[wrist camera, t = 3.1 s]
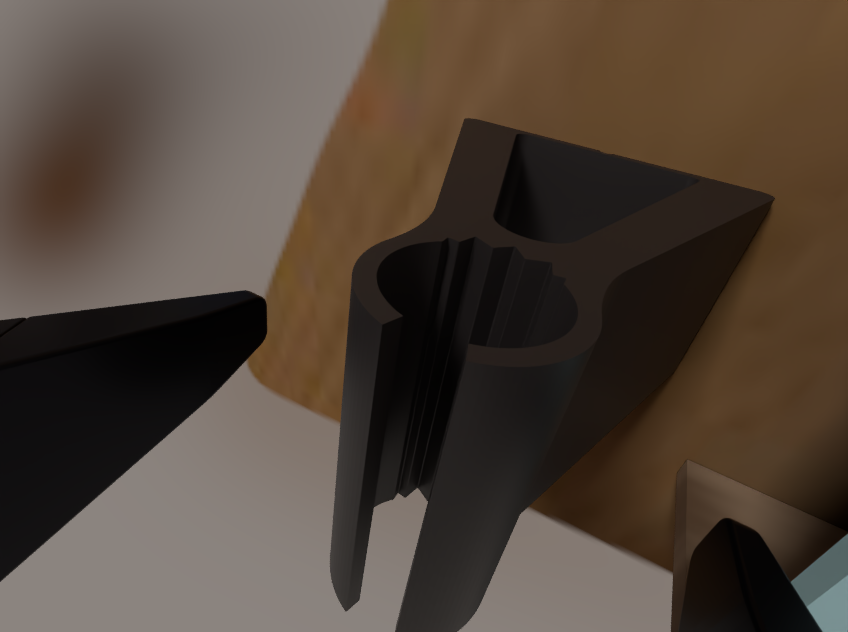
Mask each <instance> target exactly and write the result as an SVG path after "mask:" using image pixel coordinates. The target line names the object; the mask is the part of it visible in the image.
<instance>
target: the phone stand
mask: <svg viewBox="0 0 848 632" xmlns="http://www.w3.org/2000/svg"><path fill="white" fill-rule="evenodd" d="M774 199H775V198H774V197H773V196H771V195H769V194H766V193H763V192H760V191H756V190H752V189H748V188H744V187H740V186H736V185H732V184H728V183H724V182H720V181H717V180H713V179H709V178H705V177H701V176H697V175H693V174H689V173H685V172H681V171H677V170H673V169H669V168H666V167H662V166H658V165H654V164H650V163H646V162H642V161H638V160H634V159H630V158H626V157H622V156H618V155H615V154H606V153H603V152H600V151H599V150H595V149H591V148H587V147H583V146H579V145H575V144H571V143H568V142H564V141H560V140H556V139H552V138H548V137H544V136H540V135H536V134H532V133H528V132H524V131H520V130H517V129H513V128H509V127H505V126H501V125H497V124H493V123H489V122H485V121H481V120H477V119H470V118H466V119H464V122H463V125H462V128H461V131H460V134H459V137H458V140H457V143H456V146H455V149H454V152H453V155H452V158H451V161H450V164H449V167H448V170H447V173H446V176H445V179H444V183H443V186H442V189H441V192H440V195H439V198H438V201H437V204H436V207H435V209H434V211H433V213H432V214H431V215H430V216H429V218H428V219H427V220H425V221H424V222H423V223H422V224H420V225H419V226H417V227H416V228H414V229H412V230H410V231H408V232H406V233H404V234H402V235H399V236H397V237H394V238H391V239H389V240H386V241H383V242H381V243H378V244H376V245H374V246H373V247H371V248H370V249H368V250H367V251H366V252H364V253H363V254H362V255H361V256H360V257H359V259H358V260H357V262H356V263H355V265H354V268H353V272H352V282H351V295H350V308H349V321H348V334H347V347H346V360H345V372H344V385H343V398H342V411H341V424H340V437H339V450H338V464H337V476H336V488H335V501H334V502H335V503H334V515H333V528H332V540H331V553H330V572H331V579H332V583H333V587H334V590H335V593H336V595H337V597H338V599H339V601H340V603H341V605H342V607H343V608H344V610H345V611H348V610H349V609H350V608H351V607H352V606H353V605H354V604H355V603H357V602H358V601H359V599H360V592H361V586H362V579H363V573H364V566H365V560H366V553H367V547H368V541H369V534H370V528H371V521H372V515H373V508H374V507H375V506H377V505H379V504H381V503H383V502H386V501H389V500H393V499H394V498H395V496H396V495H397V493H399V494H401V495H402V496H404V497H407V496H408V495H409V494H410V493H412V492H413V491H414V490H415V489H416V488H419V490H420V491H421V493H422V494H423V495H424V497H425V498H426V500H427V501H428V504H427V508H426V512H425V516H424V520H423V523H422V528H421V531H420V535H419V539H418V543H417V547H416V551H415V555H414V559H413V563H412V567H411V570H410V574H409V578H408V582H407V586H406V590H405V594H404V597H403V602H402V605H401V609H400V613H399V617H398V621H397V625H396V630H395V632H457V631H459V630H460V629H461V628H462V627H463V626H464V625H465V624H466V623H467V622H468V621H469V620H470V619H471V618H472V616H473V615H474V614H475V612H476V611H477V609H478V607H479V605H480V603H481V601H482V599H483V597H484V594H485V592H486V590H487V587H488V585H489V583H490V581H491V578H492V576H493V574H494V572H495V569H496V567H497V565H498V563H499V560H500V558H501V556H502V553H503V551H504V549H505V547H506V545H507V542H508V540H509V538H510V535H511V533H512V531H513V529H514V527H515V524H516V522H517V520H518V518H519V515H520V514H521V512H523V511H524V510H525V509H526V508H527V507H528V506H529V505H531V504H532V503H533V502H534V501H535V500H536V499H537V498H538V497H539V496H540V495H541V494H542V493H544V492H545V491H546V490H547V489H548V488H549V487H550V486H551V485H552V484H553V483H554V482H555V481H557V480H558V479H559V478H560V477H561V476H562V475H563V474H564V473H565V472H566V471H567V470H568V469H570V468H571V467H572V466H573V465H574V464H575V463H576V462H577V461H578V460H579V459H580V458H581V457H583V456H584V455H585V454H586V453H587V452H588V451H589V450H590V449H591V448H592V447H593V446H594V445H596V444H597V443H598V442H599V441H600V440H601V439H602V438H603V437H604V436H605V435H606V434H607V433H609V432H610V431H611V430H612V429H613V428H614V427H615V426H616V425H617V424H618V423H619V422H620V421H622V420H623V419H624V418H625V417H626V416H627V415H628V414H629V413H630V412H631V411H632V410H634V409H635V408H636V407H637V406H638V405H639V404H640V403H641V402H642V401H643V400H644V399H645V398H647V397H648V396H649V395H650V394H651V393H652V392H653V391H654V390H655V389H656V388H657V387H658V386H660V385H661V384H662V383H663V382H664V381H665V380H666V379H667V378H668V377H669V376H670V375H671V374H673V373H674V371H675V369H676V368H677V366H678V364H679V362H680V361H681V359H682V357H683V356H684V354H685V352H686V350H687V349H688V347H689V345H690V344H691V342H692V340H693V338H694V337H695V335H696V333H697V332H698V330H699V328H700V326H701V325H702V323H703V321H704V320H705V318H706V316H707V314H708V313H709V311H710V309H711V308H712V306H713V304H714V302H715V301H716V299H717V297H718V296H719V294H720V292H721V290H722V289H723V287H724V285H725V284H726V282H727V280H728V278H729V277H730V275H731V273H732V272H733V270H734V268H735V266H736V265H737V263H738V261H739V260H740V258H741V256H742V254H743V253H744V251H745V249H746V248H747V246H748V244H749V242H750V241H751V239H752V237H753V236H754V234H755V232H756V230H757V229H758V227H759V225H760V224H761V222H762V220H763V218H764V217H765V215H766V213H767V211H768V210H769V208H770V206H771V205H772V203H773V201H774Z"/></svg>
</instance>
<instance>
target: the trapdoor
mask: <svg viewBox="0 0 848 632" xmlns="http://www.w3.org/2000/svg"><path fill="white" fill-rule="evenodd" d="M791 583H792V585H793V586H794V588H795V589H796V591H797V593H798V594H799V596H800V597H801V599H802V600H803V602H804V603H805V605H806V606H807V608H808V610H809V611H810V613H811V614H812V616H813V617H814V619H815V620H816V622H817V624H818V625H819V627H820V628H821V630H822V631H823V632H848V534H847V535H846V536H844V537H843V538H842V539H841V540H840V541H839V542H837V543H836V544H835V545H834V546H833V547H831V548H830V549H829V550H828V551H827V552H826V553H824V554H823V555H822V556H821V557H820V558H818V559H817V560H816V561H815V562H814V563H813V564H811V565H810V566H809V567H808V568H807V569H805V570H804V571H803V572H802V573H801V574H799V575H798V576H797V577H796V578H795V579H794V580H792V581H791Z"/></svg>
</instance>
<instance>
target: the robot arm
mask: <svg viewBox="0 0 848 632" xmlns="http://www.w3.org/2000/svg"><path fill="white" fill-rule="evenodd" d="M266 335H267V304H266V301H265V299H264V298H263V297H261V296H259V295H257V294H255V293H252V292H250V291H246V290H245V291H236V292H228V293H219V294H212V295H203V296H196V297H187V298H179V299H171V300H163V301H154V302H146V303H138V304H130V305H122V306H115V307H106V308H98V309H90V310H81V311H74V312H65V313H57V314H49V315H42V316H33V317H29V318H27V319H26V318H16V319H8V320H0V582H1V581H2V580H3V579H4V578H5V577H6V576H7V575H9V574H10V573H11V572H12V571H13V570H14V569H16V568H17V567H18V566H19V565H20V564H21V563H22V562H23V561H25V560H26V559H27V558H28V557H29V556H30V555H32V554H33V553H34V552H35V551H36V550H37V549H38V548H40V547H41V546H42V545H43V544H44V543H45V542H46V541H48V540H49V539H50V538H51V537H52V536H53V535H54V534H56V533H57V532H58V531H59V530H60V529H61V528H62V527H63V526H65V525H66V524H67V523H68V522H69V521H70V520H72V519H73V518H74V517H75V516H76V515H77V514H78V513H79V512H81V511H82V510H83V509H84V508H85V507H86V506H88V504H90V503H91V502H92V501H93V500H94V499H95V498H97V497H98V496H99V495H100V494H101V493H102V492H103V491H105V490H106V489H107V488H108V487H109V486H110V485H112V484H113V483H114V482H115V481H116V480H117V479H118V478H119V477H121V476H122V475H123V474H124V473H125V472H126V471H127V470H129V469H130V468H131V467H132V466H133V465H134V464H136V463H137V462H138V461H139V460H140V459H141V458H142V457H143V456H144V455H146V454H147V453H148V452H149V451H150V450H151V449H153V448H154V447H155V446H156V445H157V444H158V443H159V442H160V441H162V440H163V439H164V438H165V437H166V436H167V435H168V434H170V433H171V432H172V431H173V430H174V429H175V428H177V427H178V426H179V425H180V424H181V423H182V422H183V421H184V420H186V419H187V418H188V417H189V416H190V415H191V414H193V413H194V412H195V411H196V410H197V409H198V408H199V407H201V405H203V404H204V403H205V402H206V401H207V400H208V399H209V398H211V397H212V396H213V395H214V394H215V393H216V392H217V390H219V389H220V387H222V385H223V384H224V383H225V382H226V381H227V380H228V379H229V378H230V377H231V375H233V374H234V373H235V372H236V371H237V369H238V368H239V367H240V366H241V365H242V364H243V363H244V362H245V361H246V360H247V359H248V358H249V357H250V356H251V355H252V353H253V352H254V351H255V350H256V349H257V348H258V347H259V346H260V345H261V344H262V343H263V341H264V340H265V337H266ZM678 632H823V631H822V630H821V628H820V627H819V625H818V624H817V622H816V620H815V619H814V617H813V616H812V614H811V613H810V611H809V610H808V608H807V606H806V605H805V603H804V602H803V600H802V599H801V597H800V596H799V594H798V593H797V591H796V589H795V588H794V586H793V585H792V583H791V582H790V580H789V579H788V577H787V575H786V574H785V572H784V571H783V569H782V568H781V566H780V565H779V563H778V561H777V560H776V558H775V557H774V555H773V554H772V552H771V551H770V549H769V547H768V546H767V544H766V543H765V541H764V540H763V538H762V537H761V535H760V534H759V533H758V532H757V531H756V530H754V529H752V528H750V527H748V526H746V525H744V524H742V523H740V522H737V521H735V520H733V519H731V518H723V519H721V520H720V521H719V522H718V523H717V524H716V525H715V526H714V527H713V528H712V529H711V531H710V532H709V533H708V534H707V535H706V536H705V537H704V538H703V540H702V541H701V542H700V543H699V544H698V545H697V546H696V548H695V550H694V551H693V554H692V556H691V559H690V564H689V570H688V576H687V582H686V588H685V594H684V600H683V606H682V612H681V618H680V624H679V630H678Z"/></svg>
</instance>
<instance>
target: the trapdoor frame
mask: <svg viewBox="0 0 848 632" xmlns="http://www.w3.org/2000/svg"><path fill="white" fill-rule="evenodd" d="M723 518H731V519H733V520H735V521H737V522H740V523H742V524H744V525H746V526H748V527H750V528H752V529H754V530H756V531H757V532H758V533H759V534H760V535H761V537H762V538H763V540H764V541H765V543H766V544H767V546H768V547H769V549H770V551H771V552H772V554H773V555H774V557H775V558H776V560H777V561H778V563H779V565H780V566H781V568H782V569H783V571H784V572H785V574H786V575H787V577H788V579H789V580H790V582H791V581H792V580H794V579H795V578H796V577H797V576H798V575H799V574H801V573H802V572H803V571H804V570H805V569H807V568H808V567H809V566H810V565H811V564H813V563H814V562H815V561H816V560H817V559H818V558H820V557H821V556H822V555H823V554H824V553H826V552H827V551H828V550H829V549H830V548H831V547H833V546H834V545H835V544H836V543H837V542H839V541H840V540H841V539H842V538H843V537H844V536H846V535H847V534H848V532H847V531H845V530H843V529H841V528H838V527H836V526H834V525H832V524H829V523H827V522H825V521H823V520H821V519H818V518H816V517H814V516H812V515H810V514H807V513H805V512H803V511H801V510H798V509H796V508H794V507H792V506H790V505H787V504H785V503H783V502H781V501H779V500H776V499H774V498H772V497H770V496H767V495H765V494H763V493H761V492H759V491H756V490H754V489H752V488H750V487H747V486H745V485H743V484H741V483H739V482H736V481H734V480H732V479H730V478H728V477H725V476H723V475H721V474H719V473H716V472H714V471H712V470H710V469H708V468H705V467H703V466H701V465H699V464H696V463H694V462H692V461H690V460H688V459H687V460H686V462H685V463H684V464H683V466H682V467H681V469H680V470H679V471H678V473H677V487H676V513H675V539H674V565H673V592H672V593H673V594H672V617H671V632H678V630H679V624H680V618H681V612H682V606H683V600H684V594H685V588H686V582H687V576H688V570H689V564H690V559H691V556H692V554H693V551H694V550H695V548H696V546H697V545H698V544H699V543H700V542H701V541H702V540H703V538H704V537H705V536H706V535H707V534H708V533H709V532H710V531H711V529H712V528H713V527H714V526H715V525H716V524H717V523H718V522H719V521H720V520H721V519H723Z"/></svg>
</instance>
